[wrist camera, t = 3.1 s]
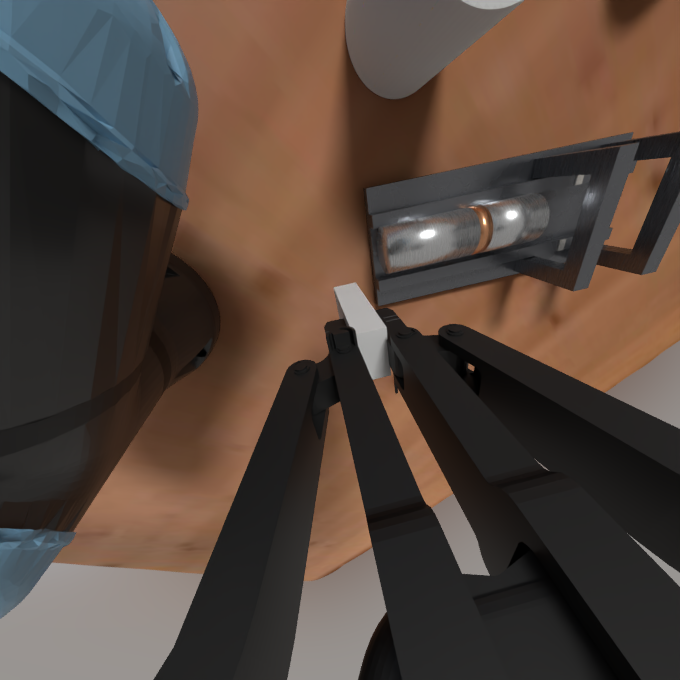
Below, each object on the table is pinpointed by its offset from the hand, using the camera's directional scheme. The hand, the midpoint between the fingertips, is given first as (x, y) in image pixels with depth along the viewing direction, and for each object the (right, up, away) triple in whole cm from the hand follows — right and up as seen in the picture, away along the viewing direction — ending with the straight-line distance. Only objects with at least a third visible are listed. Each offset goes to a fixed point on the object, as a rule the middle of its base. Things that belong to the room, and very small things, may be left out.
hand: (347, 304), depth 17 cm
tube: (+11, +8, +10) cm, 17 cm away
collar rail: (+16, +10, +11) cm, 22 cm away
